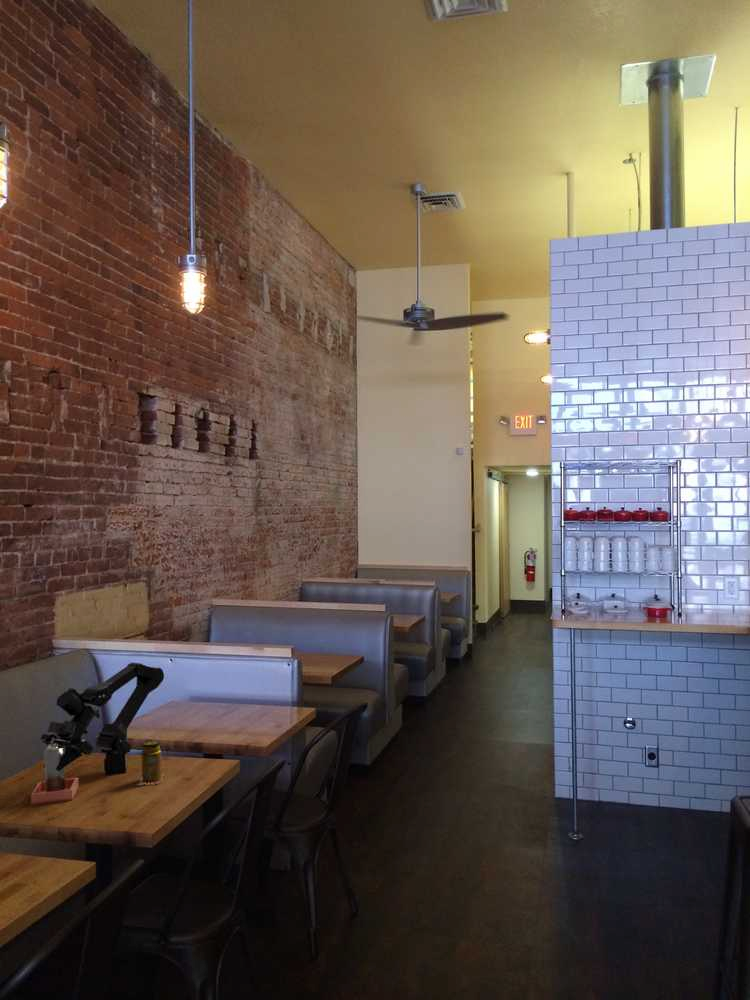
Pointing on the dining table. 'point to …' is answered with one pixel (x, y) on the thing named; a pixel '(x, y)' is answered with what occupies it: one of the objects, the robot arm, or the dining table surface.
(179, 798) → the dining table surface
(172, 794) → the dining table surface
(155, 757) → the condiment
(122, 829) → the dining table surface
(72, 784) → the dish
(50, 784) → the pebble tin
